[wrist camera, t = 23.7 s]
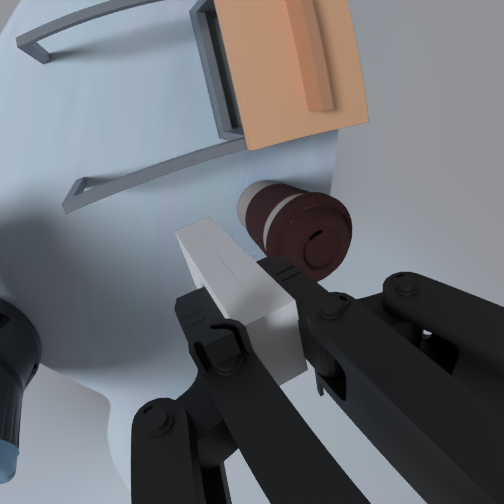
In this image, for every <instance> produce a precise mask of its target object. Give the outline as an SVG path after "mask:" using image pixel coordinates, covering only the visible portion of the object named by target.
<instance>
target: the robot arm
mask: <svg viewBox="0 0 504 504" xmlns="http://www.w3.org/2000/svg"><path fill="white" fill-rule="evenodd" d="M175 233H176V236H177V239H178V241H179V244H180V247H181V249H182V252H183V254H184V257H185V260H186V262H187V265H188V267H189V270H190V273H191V275H192V278H193V280H194V283H195V285H196V287H197V290H195V291H193V292H190V293H188V294H186V295H184V296H181V297H179V298H177V299H176V304H175V309H174V310H175V313H176V315H177V317H178V320H179V322H180V325H181V327H182V329H183V332H184V334H185V336H186V339H187V341H188V343H189V344H188V346H189V353H190V355H191V357H192V358H193V360H194V362H195V364H196V366H197V368H198V374H197V377H196V380H195V381H194V383H193V384H192V386H191V387H190V388H189V389H188V390H187V391H186V392H185V393H184V394H182V395H181V396H180V397H179V398H177V399H176V400H173V399H170V398H157V399H155V400H152V401H149V402H147V403H146V404H145V405H143V406H142V407H141V408H140V409H139V410H138V412H137V413H136V415H135V416H134V419H133V423H132V431H131V501H132V504H232V502H231V497H230V492H229V487H228V482H227V477H226V472H225V466H224V461H225V460H226V459H227V458H228V457H229V456H230V455H232V454H233V453H234V452H235V451H236V450H237V449H238V448H239V449H240V451H241V453H242V455H243V457H244V459H245V461H246V462H247V464H248V466H249V467H250V469H251V471H252V473H253V474H254V476H255V478H256V480H257V481H258V483H259V485H260V487H261V488H262V490H263V492H264V493H265V495H266V497H267V498H268V500H269V502H270V503H271V504H371V503H370V502H369V501H368V499H367V498H366V497H365V496H364V495H363V494H362V492H361V491H360V490H359V489H358V488H357V486H356V485H355V484H354V483H353V482H352V480H351V479H350V478H349V477H348V475H347V474H346V473H345V472H344V470H343V469H342V468H341V467H340V465H339V464H338V463H337V462H336V460H335V459H334V458H333V457H332V455H331V454H330V453H329V452H328V451H327V449H326V448H325V446H324V445H323V444H322V443H321V441H320V440H319V439H318V438H317V436H316V435H315V434H314V432H313V431H312V430H311V428H310V427H309V426H308V424H307V423H306V422H305V421H304V419H303V418H302V417H301V415H300V414H299V413H298V411H297V410H296V409H295V407H294V406H293V405H292V403H291V402H290V401H289V399H288V398H287V396H286V395H285V394H284V392H283V391H282V390H281V388H280V387H279V386H280V385H281V384H283V383H285V382H287V381H289V380H291V379H292V378H294V377H296V376H298V375H300V374H301V373H303V372H305V371H307V370H308V368H307V363H306V359H307V360H308V361H309V362H310V364H311V365H312V366H313V367H314V368H315V375H316V382H317V389H318V392H319V394H320V396H322V395H324V393H323V388H324V389H325V390H326V391H327V393H329V395H330V396H331V397H332V398H333V400H334V401H335V402H336V403H337V404H338V405H339V406H340V408H341V409H342V410H343V411H344V412H345V413H346V414H347V416H348V417H349V418H350V419H351V420H352V421H353V422H354V424H355V425H356V426H357V427H358V428H359V429H360V430H361V431H362V433H363V434H364V435H365V436H366V437H367V438H368V439H369V440H370V442H371V443H372V444H373V445H374V446H375V447H376V448H377V449H378V450H379V452H380V453H381V454H382V455H383V456H384V457H385V458H386V459H387V460H388V461H389V463H390V464H391V465H392V466H393V467H394V468H395V469H396V470H397V471H398V472H399V473H400V475H401V476H402V477H403V478H404V479H405V480H406V481H407V482H408V483H409V484H410V485H411V487H412V488H413V489H414V490H415V491H416V492H417V493H418V494H419V495H420V496H421V497H422V498H423V499H424V500H425V501H426V502H427V503H428V504H504V307H502V306H499V305H497V304H495V303H492V302H490V301H487V300H485V299H482V298H480V297H477V296H475V295H472V294H469V293H467V292H464V291H462V290H459V289H457V288H454V287H452V286H449V285H446V284H444V283H441V282H438V281H436V280H433V279H431V278H428V277H425V276H423V275H420V274H417V273H413V272H398V273H395V274H392V275H391V276H389V277H388V278H386V280H385V281H384V283H383V292H382V293H378V294H375V295H371V296H368V297H365V298H360V299H355V298H353V297H351V296H350V295H348V294H346V293H340V292H328V291H327V290H325V289H324V288H323V287H322V286H321V285H319V284H318V283H317V282H316V281H314V280H313V279H312V278H311V277H309V276H308V275H307V274H306V273H304V272H302V270H301V269H300V268H298V267H297V266H295V264H293V263H292V262H291V261H290V260H288V259H287V258H285V257H282V256H278V255H275V254H272V255H270V256H268V257H266V258H263V259H261V260H259V261H257V262H255V261H254V260H253V259H252V258H251V257H250V256H249V255H248V254H247V253H246V252H245V251H244V250H243V249H242V248H241V247H240V246H239V245H238V244H237V243H236V242H234V241H233V240H232V239H231V238H230V237H229V236H228V235H227V234H226V233H225V232H224V231H223V230H222V229H221V228H220V227H219V226H218V225H217V224H216V223H215V222H214V221H213V220H212V219H211V218H210V217H208V218H206V219H203V220H201V221H198V222H196V223H193V224H191V225H189V226H186V227H184V228H181V229H179V230H176V231H175ZM424 330H426V331H428V332H431V333H432V334H431V335H426V334H423V331H424ZM40 357H41V343H40V339H39V336H38V334H37V332H36V330H35V328H34V326H33V325H32V323H31V322H30V321H29V320H28V318H27V317H26V316H25V315H24V314H23V313H22V312H21V311H19V310H18V309H17V308H15V307H14V306H12V305H11V304H9V303H7V302H5V301H3V300H1V299H0V484H3V483H6V482H8V481H10V480H11V479H12V478H13V477H14V475H15V472H16V465H17V456H18V455H19V432H20V418H21V408H22V398H23V392H24V390H25V389H26V387H27V386H28V384H29V383H30V381H31V380H32V378H33V377H34V375H35V374H36V372H37V370H38V367H39V363H40Z"/></svg>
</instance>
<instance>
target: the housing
mask: <svg viewBox="0 0 504 504" xmlns="http://www.w3.org/2000/svg"><path fill="white" fill-rule="evenodd" d="M158 1H163V0H111V1H107V2H104V3H101V4H97V5H94V6H91V7H88V8H85V9H82V10H80V11H77V12H74V13H71V14H69V15H66V16H64V17H61V18H59V19H56V20H54V21H51V22H49V23H47V24H44V25H42V26H40V27H37V28H35V29H33V30H31V31H29V32H27V33H25V34H23V35H21V36H19V37H17V38H16V42H17V47H18V48H19V49H21V50H22V51H24V52H25V53H27V54H28V55H30V56H31V57H33V58H34V59H36V60H37V61H39V62H40V63H42V64H44V63H46V62H49V61H51V60H50V55H49V53H48V52H47V51H46V50H45V49H44V48H43V47H41V46H40V45H39V44H38V43H37V41H39V40H41V39H43V38H46V37H48V36H50V35H53V34H55V33H57V32H60V31H62V30H65V29H67V28H70V27H73V26H75V25H78V24H81V23H84V22H86V21H89V20H92V19H95V18H98V17H101V16H104V15H108V14H111V13H114V12H118V11H121V10H125V9H129V8H132V7H136V6H140V5H144V4H149V3H153V2H158ZM189 12H190V16H191V20H192V25H193V29H194V33H195V37H196V42H197V46H198V50H199V54H200V59H201V63H202V67H203V71H204V75H205V80H206V84H207V88H208V92H209V97H210V101H211V105H212V109H213V113H214V118H215V122H216V126H217V130H218V134H219V138H221V139H225V140H228V142H224V143H221V144H217V145H214V146H210V147H207V148H204V149H201V150H197V151H194V152H191V153H188V154H185V155H182V156H179V157H176V158H173V159H170V160H167V161H164V162H161V163H158V164H155V165H152V166H150V167H147V168H144V169H141V170H139V171H136V172H133V173H131V174H128V175H125V176H123V177H120V178H117V179H115V180H112V181H110V182H107V183H105V184H102V185H100V186H97V187H95V188H93V189H90V190H88V191H85V192H83V191H84V189H85V187H86V183H85V180H84V177H83V178H81V179H78V180H76V181H75V183H74V185H73V186H72V188H71V189H70V191H69V193H68V194H67V196H66V198H65V200H64V201H63V203H62V205H63V208H64V210H65V213H66V214H68V213H70V212H72V211H74V210H77V209H79V208H81V207H84V206H86V205H88V204H91V203H93V202H96V201H98V200H100V199H103V198H105V197H108V196H110V195H113V194H115V193H118V192H120V191H123V190H125V189H128V188H131V187H133V186H136V185H139V184H141V183H144V182H147V181H149V180H152V179H155V178H158V177H161V176H163V175H166V174H169V173H172V172H175V171H178V170H181V169H184V168H187V167H190V166H193V165H196V164H199V163H202V162H205V161H208V160H211V159H215V158H218V157H221V156H224V155H228V154H231V153H234V152H238V151H241V150H245V149H247V144H246V140H245V135H244V130H243V126H242V121H241V117H240V112H239V108H238V103H237V99H236V94H235V90H234V85H233V81H232V77H231V72H230V68H229V64H228V59H227V55H226V50H225V46H224V42H223V38H222V33H221V29H220V25H219V21H218V16H217V12H216V8H215V4H214V0H198V1H197V2H196V3H195V5H194V6H193V7H192V8H191V10H190V11H189Z"/></svg>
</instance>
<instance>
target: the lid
mask: <svg viewBox="0 0 504 504" xmlns="http://www.w3.org/2000/svg"><path fill="white" fill-rule="evenodd" d="M214 4H215V8H216V12H217V16H218V21H219V25H220V29H221V33H222V38H223V42H224V46H225V50H226V55H227V59H228V64H229V68H230V72H231V77H232V81H233V85H234V90H235V94H236V99H237V103H238V108H239V112H240V117H241V121H242V126H243V130H244V135H245V140H246V144H247V149H248V150H251V151H252V150H256V149H260V148H263V147H267V146H270V145H274V144H278V143H282V142H286V141H289V140H293V139H297V138H301V137H305V136H309V135H314V134H318V133H322V132H326V131H331V130H335V129H340V128H344V127H349V126H354V125H359V124H364V123H368V122H369V120H368V112H367V103H366V96H365V89H364V82H363V76H362V70H361V64H360V58H359V53H358V47H357V43H356V38H355V33H354V28H353V23H352V19H351V14H350V10H349V5H348V1H347V0H214Z"/></svg>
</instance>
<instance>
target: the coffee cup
mask: <svg viewBox="0 0 504 504" xmlns="http://www.w3.org/2000/svg"><path fill="white" fill-rule="evenodd" d="M237 211H238V216H239V219H240V221H241V223H242V225H243V226H244V227H245V228H246V229H247V231H248V233H249V235H250V236H251V238H252V239H253V240H254V241H255V243H256V244H257V245H258V246H259V247H260V249H261V250H262V251H263V252H264V253H265V255H266V256H267V257H268V256H270V255H272V254H275V255H278V256H282V257H285V258H287V259H288V260H290V261H291V262H292V263H293V264H295V266H297V267H298V268H300V269H301V270H302V272H304V273H306V274H307V275H308V276H309V277H311V278H312V279H313V280H314V281H316V282H318V281H320V280H322V279H324V278H325V277H327V276H328V275H330V274H331V273H332V272H333V271H334V270H335V269H337V268H338V266H339V265H340V264H341V263H342V262H343V260H344V258H345V256H346V254H347V251H348V248H349V246H350V242H351V239H352V222H351V218H350V215H349V212H348V211H347V209H346V207H345V206H344V205H343V204H342V203H341V202H340V201H339V200H337V199H335V198H333V197H331V196H329V195H327V194H324V193H319V192H308V191H305V190H302V189H299V188H296V187H292V186H289V185H286V184H278V183H274V182H271V181H259V182H256V183H254V184H252V185H250V186H249V187H248V188H247V189H246V190H245V191H244V192H243V193H242V195H241V197H240V199H239V202H238V209H237Z"/></svg>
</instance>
